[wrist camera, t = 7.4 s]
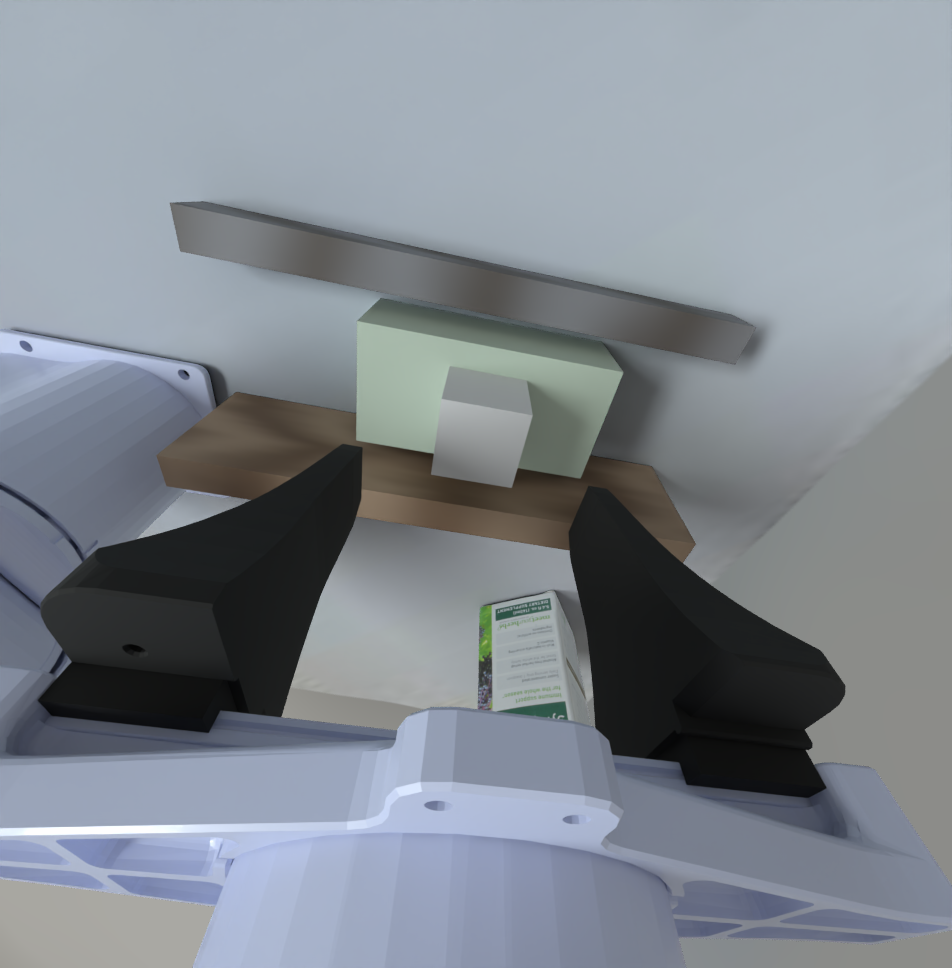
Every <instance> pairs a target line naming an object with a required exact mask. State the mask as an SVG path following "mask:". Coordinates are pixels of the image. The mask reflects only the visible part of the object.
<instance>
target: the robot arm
mask: <svg viewBox="0 0 952 968" xmlns="http://www.w3.org/2000/svg"><path fill="white" fill-rule="evenodd" d="M29 344H30V345H31V346H32V347H31V346H30V345H29ZM183 370H185V371H187V372H188V373H189V375H190V377H189V376H187V375H186V374H185V373H184V371H183ZM215 408H216V403H215V399H214V394H213V389H212V384H211V380H210V375H209V373H208V371H207V370H206V369H205V368H204V367H202V366H201V365H198V364H193V363H188V362H183V361H177V360H172V359H166V358H161V357H155V356H150V355H144V354H139V353H133V352H128V351H122V350H117V349H112V348H106V347H101V346H95V345H90V344H84V343H79V342H73V341H68V340H62V339H57V338H51V337H46V336H41V335H35V334H30V333H24V332H19V331H13V330H8V329H0V879H4V880H14V881H23V882H32V883H40V884H47V885H55V886H64V887H71V888H79V889H87V890H95V891H102V892H110V893H117V894H124V895H132V896H140V897H147V898H155V899H162V900H170V901H177V902H185V903H192V904H200V905H207V906H215V910H214V912H213V915H212V918H211V920H210V923H209V925H208V928H207V931H206V933H205V936H204V938H203V941H202V944H201V946H200V949H199V951H198V954H197V957H196V959H195V962H194V964H193V967H192V968H686V965H685V961H684V957H683V953H682V949H681V945H680V941H679V938H703V939H704V938H705V939H762V940H799V941H822V942H840V943H855V944H869V945H873V944H879V943H885V942H890V941H896V940H901V939H907V938H912V937H918V936H923V935H929V934H934V933H940V932H945V931H950V930H952V885H951V883H950V882H949V881H948V879H947V877H946V876H945V875H944V873H943V871H942V870H941V868H940V867H939V865H938V864H937V862H936V861H935V859H934V858H933V856H932V855H931V853H930V852H929V850H928V849H927V847H926V846H925V844H924V843H923V842H922V840H921V838H920V837H919V835H918V834H917V832H916V831H915V829H914V828H913V826H912V825H911V823H910V822H909V820H908V819H907V817H906V816H905V814H904V813H903V811H902V810H901V808H900V807H899V805H898V803H897V802H896V800H895V799H894V798H893V796H892V794H891V793H890V791H889V790H888V788H887V787H886V785H885V784H884V782H883V781H882V780H881V778H880V776H879V775H878V773H877V772H876V771H875V769H872V768H870V767H866V766H858V765H849V764H841V763H819V764H815V765H813V763H812V761H811V759H810V758H809V756H808V754H807V752H806V750H809V749H811V748H812V742H811V740H810V738H809V736H808V735H807V733H806V731H805V730H804V729H806V728H807V727H809V726H810V725H812V724H813V723H815V722H816V721H818V720H819V719H820V718H822V717H823V716H825V715H826V714H828V713H829V712H831V711H832V710H833V709H834V708H836V707H837V706H838V705H839V704H840V702H841V701H842V699H843V697H844V695H845V684H844V683H843V682H842V680H841V679H840V677H839V676H838V674H837V673H836V672H835V670H834V669H833V667H832V666H831V664H830V663H829V661H828V660H827V658H826V657H825V656H824V654H823V653H822V652H821V651H820V650H819V649H817V648H815V647H813V646H811V645H809V644H807V643H805V642H803V641H801V640H800V639H798V638H796V637H794V636H792V635H790V634H788V633H786V632H784V631H783V630H781V629H779V628H777V627H775V626H773V625H771V624H770V623H768V622H767V621H765V620H763V619H762V618H760V617H758V616H757V615H755V614H753V613H752V612H750V611H748V610H747V609H745V608H743V607H742V606H741V605H739V604H737V603H736V602H734V601H733V600H731V599H730V598H728V597H727V596H726V595H724V594H723V593H721V592H720V591H718V590H717V589H715V588H714V587H713V586H711V585H710V584H709V583H707V582H706V581H704V580H703V579H702V578H701V577H699V576H698V575H697V574H696V573H694V572H693V571H692V570H691V569H689V568H688V567H687V566H686V565H684V564H683V563H682V562H681V561H680V560H678V559H677V558H676V557H675V556H674V555H673V554H672V553H671V552H669V551H668V550H667V549H666V548H665V547H664V546H663V545H662V544H661V543H660V542H659V541H658V540H657V539H656V538H655V537H654V536H653V535H652V534H651V533H650V532H649V531H648V530H647V529H646V528H645V527H644V526H643V525H642V524H641V523H640V522H639V521H638V520H637V519H636V518H635V517H634V516H633V515H632V514H631V513H630V512H629V511H628V510H627V508H626V507H625V506H624V505H623V504H622V503H621V502H620V501H619V500H618V499H617V498H616V497H615V496H614V495H613V494H612V493H611V492H610V491H609V490H608V489H605V488H600V487H594V486H588V488H587V490H586V493H585V495H584V497H583V500H582V502H581V504H580V507H579V509H578V511H577V513H576V516H575V518H574V520H573V523H572V525H571V527H570V530H569V532H568V533H569V548H570V558H571V564H572V568H573V573H574V577H575V581H576V586H577V590H578V594H579V598H580V603H581V607H582V611H583V615H584V620H585V625H586V630H587V637H588V646H589V654H590V663H591V673H592V684H593V696H594V712H595V727H596V729H595V728H594V727H593V726H590V725H586V724H582V723H579V722H575V721H571V720H562V719H554V718H546V717H537V716H529V715H521V714H512V713H504V712H496V711H487V710H479V709H470V708H462V707H430V708H427V709H424V710H421V711H418V712H415V713H412V714H411V715H409V716H408V717H407V718H406V719H405V720H404V721H403V723H402V724H401V725H400V726H399V727H398V730H388V729H378V728H371V727H361V726H352V725H344V724H335V723H326V722H318V721H309V720H300V719H291V718H282V717H281V716H282V713H283V710H284V706H285V703H286V699H287V696H288V693H289V689H290V686H291V683H292V680H293V677H294V673H295V670H296V667H297V664H298V661H299V657H300V654H301V651H302V648H303V645H304V642H305V639H306V636H307V633H308V630H309V627H310V624H311V621H312V618H313V616H314V613H315V610H316V607H317V604H318V601H319V598H320V596H321V593H322V591H323V588H324V586H325V584H326V582H327V579H328V577H329V575H330V573H331V571H332V569H333V567H334V565H335V563H336V561H337V559H338V556H339V554H340V552H341V550H342V548H343V546H344V544H345V542H346V540H347V538H348V535H349V533H350V531H351V529H352V527H353V524H354V521H355V518H356V515H357V512H358V509H359V505H360V502H361V496H362V454H363V447H359V446H353V445H347V444H342V445H340V446H339V447H337V448H336V449H334V450H333V451H331V452H330V453H328V454H327V455H326V456H324V457H323V458H321V459H320V460H318V461H317V462H316V463H314V464H313V465H311V466H310V467H308V468H307V469H305V470H304V471H302V472H301V473H299V474H298V475H296V476H295V477H293V478H291V479H290V480H288V481H286V482H284V483H283V484H281V485H279V486H278V487H276V488H274V489H273V490H271V491H269V492H267V493H265V494H263V495H261V496H259V497H257V498H255V499H253V500H251V501H249V502H246V503H244V504H242V505H240V506H238V507H235V508H233V509H230V510H227V511H225V512H222V513H220V514H217V515H215V516H212V517H210V518H207V519H204V520H202V521H199V522H196V523H193V524H189V525H186V526H183V527H180V528H177V529H173V530H170V531H167V532H163V533H160V534H156V535H152V536H149V537H144V538H140V539H137V538H138V537H139V536H140V535H141V534H142V533H143V532H144V531H145V530H146V529H147V528H148V527H149V526H150V525H151V524H152V523H153V522H154V521H155V520H156V519H157V518H158V517H159V516H160V515H161V514H162V513H163V512H164V511H165V510H166V509H167V508H168V507H169V506H170V505H171V504H172V503H173V502H174V501H175V500H176V499H178V498H179V497H180V496H181V495H182V494H183V493H184V492H190V493H196V494H203V495H209V496H215V497H222V498H228V497H230V496H225V495H218V494H212V493H206V492H200V491H193V490H187V489H181V488H174V487H168V486H166V484H165V480H164V477H163V474H162V471H161V468H160V465H159V462H158V459H157V456H156V455H157V454H158V453H160V452H161V451H162V450H163V449H165V448H166V447H167V446H169V445H170V444H171V443H172V442H174V441H175V440H176V439H177V438H179V437H180V436H181V435H182V434H184V433H185V432H186V431H188V430H189V429H190V428H191V427H193V426H194V425H195V424H196V423H198V422H199V421H200V420H201V419H203V418H204V417H205V416H207V415H208V414H209V413H210V412H212V411H213V410H214V409H215Z"/></svg>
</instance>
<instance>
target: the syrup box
mask: <svg viewBox="0 0 952 968" xmlns="http://www.w3.org/2000/svg"><path fill="white" fill-rule="evenodd" d="M478 709H479V710H487V711H496V712H504V713H512V714H521V715H529V716H537V717H546V718H554V719H562V720H571V721H575V722H579V723H582V724H586V725H590V726H591V723H590V718H589V712H588V708H587V702H586V697H585V691H584V685H583V680H582V676H581V670H580V665H579V660H578V655H577V650H576V644H575V639H574V635H573V632H572V630H571V628H570V625H569V623H568V621H567V619H566V616H565V614H564V612H563V609H562V607H561V604H560V602H559V600H558V598H557V595H556V593H555V591H554V590H551V591H547V592H545V593H544V594H540V595H536V596H530V597H525V598H520V599H516V600H511V601H507V602H502V603H498V604H493V605H486V606H482V607H481V608H480V623H479V682H478Z"/></svg>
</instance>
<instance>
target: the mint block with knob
mask: <svg viewBox="0 0 952 968" xmlns="http://www.w3.org/2000/svg"><path fill="white" fill-rule="evenodd" d="M623 373H624V372H623V371H622V369H621V368H620V367H619V365H618V364H617V362H616V361H615V360H614V358H613V357H612V355H611V354H610V353H609V351H608V350H607V348H606V347H605V346H604V344H603V343H602V342H600V341H595V340H590V339H585V338H580V337H575V336H570V335H565V334H560V333H555V332H549V331H544V330H539V329H534V328H529V327H524V326H519V325H514V324H509V323H504V322H499V321H494V320H489V319H484V318H478V317H473V316H468V315H463V314H458V313H453V312H448V311H443V310H438V309H433V308H428V307H423V306H418V305H413V304H408V303H402V302H397V301H392V300H387V299H382V298H381V299H380V300H378V301H377V302H376V303H375V304H374V305H373V306H372V307H371V308H370V309H369V310H368V311H367V312H366V313H365V314H364V315H363V316H362V317H361V318H360V319H359V320H358V321H357V410H356V440H357V441H363V442H368V443H374V444H380V445H386V446H392V447H398V448H404V449H409V450H415V451H421V452H427V453H433V454H434V456H433V463H432V471H431V475H436V476H442V477H448V478H454V479H460V480H466V481H472V482H478V483H484V484H490V485H496V486H502V487H508V488H512V486H513V482H514V479H515V475H516V472H517V468H521V469H527V470H533V471H539V472H544V473H550V474H556V475H562V476H568V477H574V478H580V479H581V476H582V474H583V471H584V469H585V466H586V464H587V461H588V459H589V456H590V454H591V451H592V449H593V447H594V444H595V442H596V439H597V437H598V434H599V432H600V429H601V427H602V424H603V422H604V419H605V417H606V415H607V412H608V410H609V407H610V405H611V402H612V400H613V397H614V395H615V392H616V390H617V388H618V385H619V383H620V380H621V378H622V375H623Z"/></svg>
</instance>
